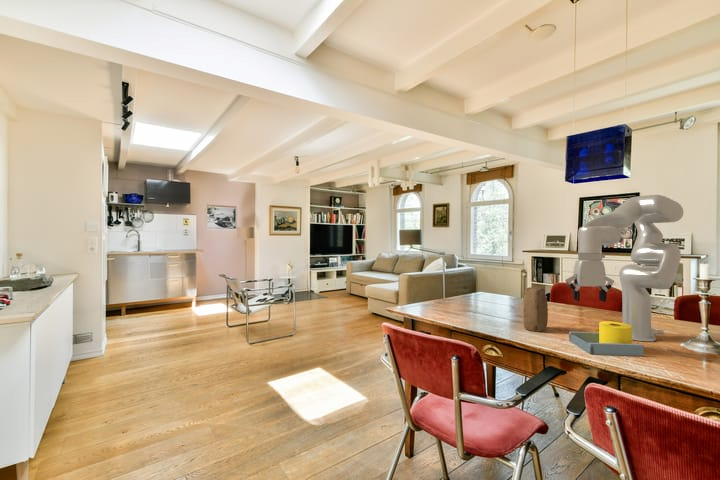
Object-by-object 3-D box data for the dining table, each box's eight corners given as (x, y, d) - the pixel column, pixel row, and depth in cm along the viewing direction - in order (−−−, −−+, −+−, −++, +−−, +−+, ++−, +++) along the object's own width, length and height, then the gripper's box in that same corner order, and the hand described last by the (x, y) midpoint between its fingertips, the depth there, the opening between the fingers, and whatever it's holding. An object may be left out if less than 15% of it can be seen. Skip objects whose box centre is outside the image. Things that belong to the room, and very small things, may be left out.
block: (537, 333, 146) (536, 289, 146) (521, 329, 153) (521, 287, 153) (550, 329, 152) (550, 287, 152) (534, 325, 158) (534, 285, 158)
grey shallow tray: (616, 342, 133) (616, 332, 133) (643, 356, 117) (643, 345, 117) (569, 340, 135) (569, 331, 135) (590, 354, 120) (590, 343, 120)
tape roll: (622, 345, 129) (622, 322, 129) (637, 354, 120) (637, 329, 120) (594, 343, 132) (594, 320, 132) (607, 352, 122) (607, 327, 122)
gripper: (607, 257, 129) (607, 299, 129) (561, 256, 132) (561, 298, 132) (620, 258, 122) (619, 303, 122) (570, 257, 124) (570, 302, 124)
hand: (589, 300), depth 127 cm, fingers open, 9 cm apart
